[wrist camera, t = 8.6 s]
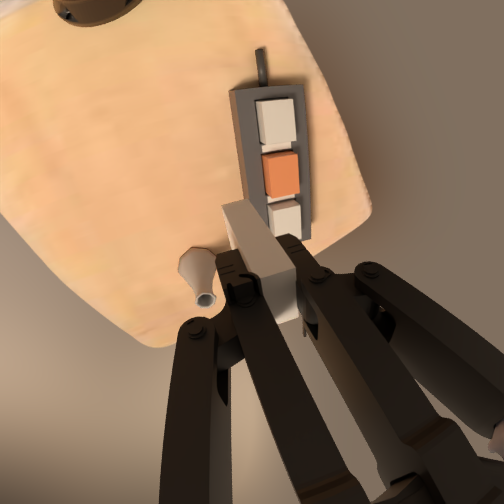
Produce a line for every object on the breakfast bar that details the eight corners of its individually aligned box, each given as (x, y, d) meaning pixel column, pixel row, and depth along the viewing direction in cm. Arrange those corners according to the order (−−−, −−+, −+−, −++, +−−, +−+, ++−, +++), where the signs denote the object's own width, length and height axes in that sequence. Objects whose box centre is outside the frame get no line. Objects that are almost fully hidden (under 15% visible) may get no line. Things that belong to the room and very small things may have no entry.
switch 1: (252, 101, 35) (261, 101, 32) (281, 98, 36) (292, 98, 33) (257, 140, 39) (266, 145, 35) (285, 136, 39) (296, 140, 36)
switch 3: (264, 201, 44) (273, 211, 41) (290, 196, 45) (300, 205, 42) (267, 233, 47) (276, 245, 44) (291, 227, 48) (301, 238, 45)
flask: (171, 273, 49) (174, 310, 41) (188, 240, 47) (195, 275, 38) (205, 285, 52) (215, 322, 44) (224, 255, 50) (237, 290, 42)
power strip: (223, 54, 32) (228, 49, 29) (287, 50, 34) (299, 46, 30) (250, 241, 50) (256, 253, 47) (301, 228, 52) (311, 239, 48)
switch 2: (259, 153, 40) (267, 158, 36) (286, 148, 40) (297, 154, 37) (263, 189, 43) (271, 198, 40) (289, 184, 44) (299, 193, 40)
